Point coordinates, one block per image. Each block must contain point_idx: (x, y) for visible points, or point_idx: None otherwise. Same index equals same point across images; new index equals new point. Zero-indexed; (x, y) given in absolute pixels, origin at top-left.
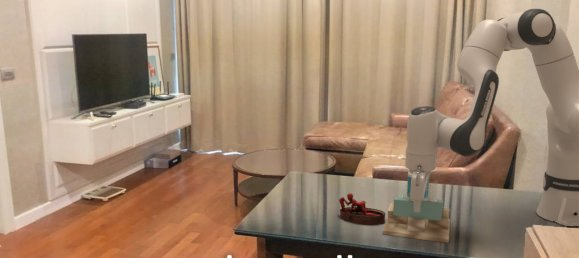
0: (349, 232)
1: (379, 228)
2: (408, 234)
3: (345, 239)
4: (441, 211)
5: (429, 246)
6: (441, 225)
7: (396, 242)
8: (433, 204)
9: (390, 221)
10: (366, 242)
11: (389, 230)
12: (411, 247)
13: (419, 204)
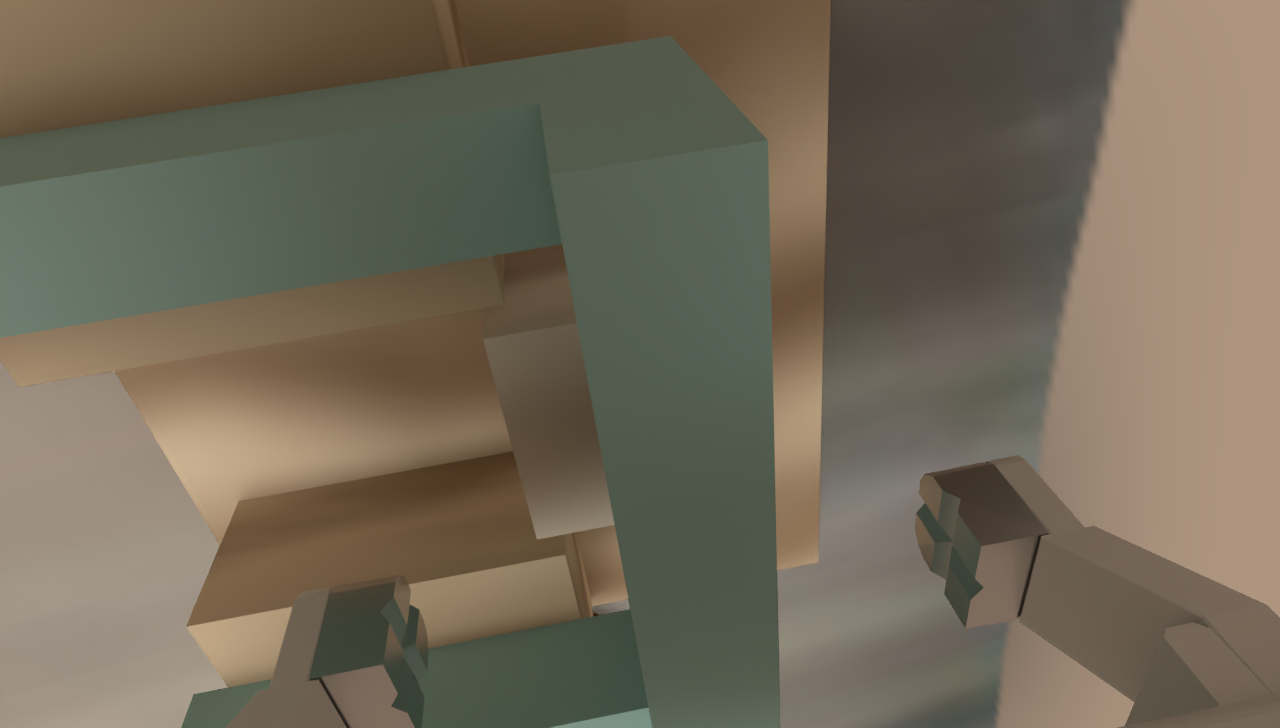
0: (852, 697)
1: None
2: (820, 353)
3: (982, 671)
4: (715, 89)
5: (986, 62)
6: (456, 21)
7: (955, 391)
8: (764, 352)
9: (585, 583)
10: None
11: (800, 521)
12: (1047, 241)
13: (1174, 582)
